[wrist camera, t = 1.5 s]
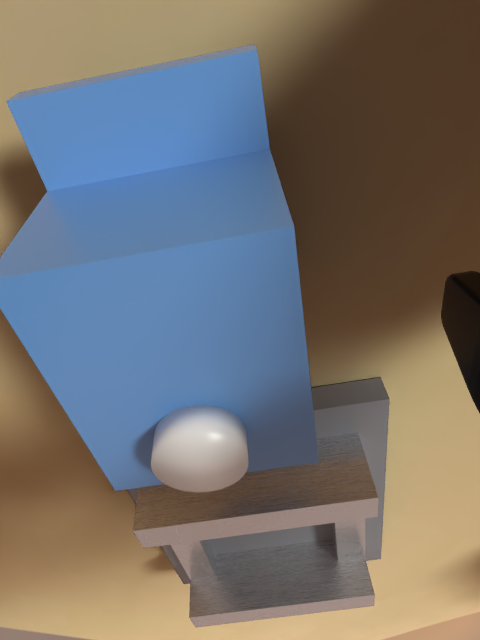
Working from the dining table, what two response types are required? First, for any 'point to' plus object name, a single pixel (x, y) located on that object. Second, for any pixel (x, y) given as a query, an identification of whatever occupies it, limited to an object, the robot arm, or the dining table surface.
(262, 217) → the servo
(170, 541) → the grey shallow tray
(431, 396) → the dining table surface
